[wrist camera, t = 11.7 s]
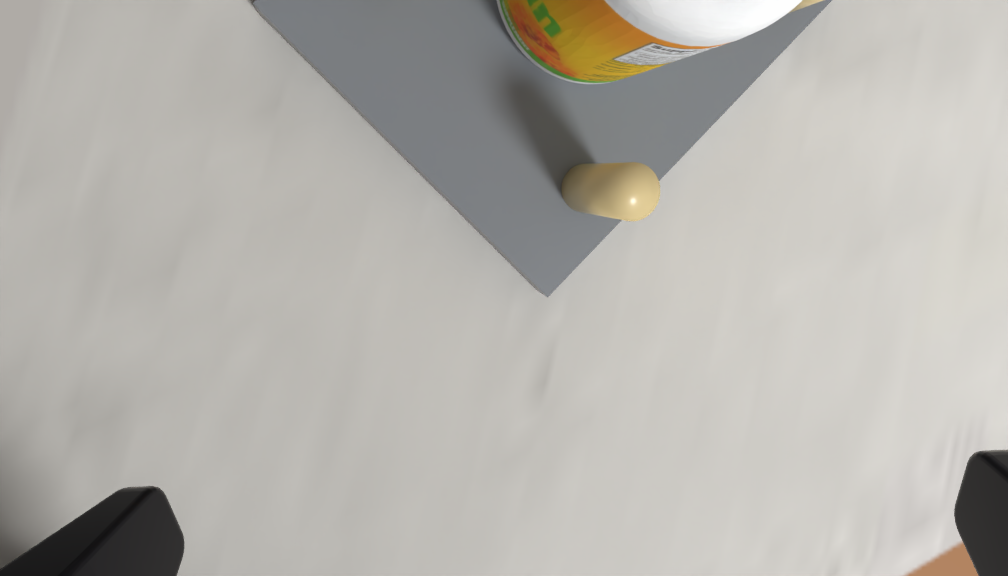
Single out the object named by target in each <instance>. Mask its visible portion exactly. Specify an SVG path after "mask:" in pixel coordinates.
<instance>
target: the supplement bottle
mask: <svg viewBox="0 0 1008 576" xmlns="http://www.w3.org/2000/svg"><path fill="white" fill-rule="evenodd" d="M801 1H802V0H497V4H498V9H499V12H500V15H501V18H502V20H503V22H504V25H505V27H506V29H507V31H508V33H509V35H510V37H511V38H512V40H513V41H514V43H515V44H516V45H517V47H518V48H519V49H520V51H521V52H522V53H523V54H524V55H525V56H526V57H527V58H528V59H529V60H530V61H531V62H532V63H534V64H535V65H536V66H537V67H539V68H540V69H542V70H543V71H545V72H547V73H548V74H550V75H552V76H555V77H557V78H559V79H562V80H565V81H569V82H573V83H580V84H603V83H609V82H614V81H618V80H621V79H625V78H628V77H631V76H633V75H636V74H639V73H642V72H645V71H648V70H651V69H654V68H657V67H660V66H663V65H665V64H668V63H671V62H675V61H678V60H680V59H683V58H686V57H689V56H692V55H695V54H697V53H701V52H704V51H706V50H709V49H712V48H715V47H719V46H722V45H724V44H727V43H730V42H733V41H737V40H739V39H742V38H744V37H746V36H748V35H751V34H753V33H755V32H757V31H759V30H762V29H764V28H766V27H767V26H769V25H771V24H772V23H774V22H776V21H777V20H779V19H780V18H782V17H783V16H785V15H786V14H788V13H789V12H790V11H791V10H792V9H794V8H795V7H796V6H797V5H798V4H799V3H800V2H801Z"/></svg>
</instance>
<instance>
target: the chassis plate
mask: <svg viewBox="0 0 1008 576" xmlns="http://www.w3.org/2000/svg"><path fill="white" fill-rule="evenodd" d="M831 1H832V0H802V1H801V2H800V3H799V4H798V5H797V6H796V7H795V8H794V9H792V10H791V11H790V12H789V13H788V14H786V15H785V16H783V17H782V18H780V19H779V20H777V21H776V22H774V23H772V24H771V25H769V26H767V27H766V28H764V29H762V30H759V31H757V32H755V33H753V34H751V35H748V36H746V37H744V38H742V39H739V40H737V41H733V42H730V43H727V44H724V45H722V46H719V47H715V48H712V49H709V50H706V51H704V52H701V53H697V54H695V55H692V56H689V57H686V58H683V59H680V60H678V61H675V62H671V63H668V64H665V65H663V66H660V67H657V68H654V69H651V70H648V71H645V72H642V73H639V74H636V75H633V76H631V77H628V78H625V79H621V80H618V81H614V82H609V83H603V84H580V83H573V82H569V81H565V80H562V79H559V78H557V77H555V76H552V75H550V74H548V73H547V72H545V71H543V70H542V69H540V68H539V67H537V66H536V65H535V64H534V63H532V62H531V61H530V60H529V59H528V58H527V57H526V56H525V55H524V54H523V53H522V52H521V51H520V49H519V48H518V47H517V45H516V44H515V43H514V41H513V40H512V38H511V37H510V35H509V33H508V31H507V29H506V27H505V25H504V22H503V20H502V18H501V15H500V12H499V9H498V4H497V0H255V2H254V3H253V5H254V6H255V8H256V10H257V11H258V13H259V14H260V15H261V16H262V17H263V18H264V19H265V20H266V21H267V22H268V23H269V24H270V25H271V26H272V27H273V28H274V29H275V30H276V31H277V32H278V33H279V34H280V35H281V36H282V37H283V38H284V39H285V40H286V41H287V42H288V43H289V44H290V45H291V46H292V47H293V48H294V49H295V50H296V51H297V52H298V53H299V54H300V55H301V56H302V57H303V58H304V59H305V60H306V61H307V62H308V63H309V64H310V65H311V66H312V67H313V68H314V69H315V70H316V71H317V72H318V73H319V74H320V75H321V76H322V77H323V78H324V79H325V80H326V81H327V82H328V83H329V84H330V85H331V86H332V87H333V88H334V89H335V90H336V91H337V92H338V93H339V94H340V95H341V96H342V97H343V98H344V99H345V100H346V101H347V102H348V103H349V104H350V105H351V106H352V107H353V108H354V109H355V110H356V111H357V112H358V113H359V114H360V115H361V116H362V117H363V118H364V119H365V120H366V121H367V122H368V123H369V124H370V125H371V126H372V127H373V128H374V129H375V130H376V131H377V132H378V133H379V134H380V135H381V136H382V137H383V138H384V139H385V140H386V141H387V142H388V143H389V144H390V145H391V146H392V147H393V148H394V149H395V150H396V151H397V152H398V153H399V154H400V155H401V156H402V157H403V158H404V159H405V160H406V161H407V162H408V163H409V164H411V165H412V166H413V167H414V168H415V169H416V170H417V171H418V172H419V173H420V174H421V175H422V176H423V177H424V178H425V179H426V180H427V181H428V182H429V183H430V184H431V185H432V186H433V187H434V188H435V189H436V190H437V191H438V192H439V193H440V194H441V195H442V196H443V197H444V198H445V199H446V200H447V201H448V202H449V203H450V204H451V205H452V206H453V207H454V208H455V209H456V210H457V211H458V212H459V213H460V214H461V215H462V216H463V217H464V218H465V219H466V220H467V221H468V222H469V223H470V224H471V225H472V226H473V227H474V228H475V229H476V230H477V231H478V232H479V233H480V234H481V235H482V236H483V237H484V238H485V239H486V240H487V241H488V242H489V243H490V244H491V245H492V246H493V247H494V248H495V249H496V250H497V251H498V252H499V253H500V254H501V255H502V256H503V257H504V258H505V259H506V260H507V261H508V262H509V263H510V264H511V265H512V266H513V267H514V268H515V269H516V270H517V271H518V272H519V273H520V274H521V275H522V276H523V277H524V278H525V279H526V280H527V281H528V282H529V283H530V284H531V285H532V286H533V287H534V288H535V289H536V290H537V291H539V292H540V293H542V294H543V295H545V296H547V297H549V296H550V294H551V293H552V292H553V291H554V290H555V289H556V288H557V287H558V286H559V285H560V284H561V283H562V282H563V281H564V280H565V279H566V278H567V277H568V276H569V275H570V274H571V273H572V271H573V270H574V269H575V268H576V267H577V266H578V265H579V264H580V263H581V262H582V261H583V260H584V259H585V258H586V257H587V256H588V255H589V254H590V253H591V252H592V251H593V250H594V248H595V247H596V246H597V245H598V244H599V243H600V242H601V241H602V240H603V239H604V238H605V237H606V236H607V235H608V234H609V233H610V232H611V231H612V230H613V229H614V228H615V227H616V225H617V224H618V223H619V222H620V221H621V220H625V221H638V220H641V219H643V218H645V217H647V216H648V215H649V214H650V213H651V212H652V211H653V210H654V209H655V207H656V205H657V203H658V201H659V197H660V184H659V181H660V179H661V178H662V177H663V176H664V175H665V174H666V173H667V172H668V171H669V170H670V169H671V168H672V167H673V166H674V165H675V164H676V163H677V162H678V161H679V160H680V159H681V158H682V157H683V155H684V154H685V153H686V152H687V151H688V150H689V149H690V148H691V147H692V146H693V145H694V144H695V143H696V142H697V141H698V140H699V139H700V138H701V137H702V136H703V135H704V134H705V132H706V131H707V130H708V129H709V128H710V127H711V126H712V125H713V124H714V123H715V122H716V121H717V120H718V119H719V118H720V117H721V116H722V115H723V114H724V113H725V112H726V111H727V109H728V108H729V107H730V106H731V105H732V104H733V103H734V102H735V101H736V100H737V99H738V98H739V97H740V96H741V95H742V94H743V93H744V92H745V91H746V90H747V89H748V88H749V86H750V85H751V84H752V83H753V82H754V81H755V80H756V79H757V78H758V77H759V76H760V75H761V74H762V73H763V72H764V71H765V70H766V69H767V68H768V67H769V66H770V65H771V63H772V62H773V61H774V60H775V59H776V58H777V57H778V56H779V55H780V54H781V53H782V52H783V51H784V50H785V49H786V48H787V47H788V46H789V45H790V44H791V43H792V42H793V40H794V39H795V38H796V37H797V36H798V35H799V34H800V33H801V32H802V31H803V30H804V29H805V28H806V27H807V26H808V25H809V24H810V23H811V22H812V21H813V20H814V19H815V18H816V16H817V15H818V14H819V13H820V12H821V11H822V10H823V9H824V8H825V7H826V6H827V5H828V4H829V3H830V2H831Z"/></svg>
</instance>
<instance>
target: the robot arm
mask: <svg viewBox="0 0 1008 576" xmlns="http://www.w3.org/2000/svg"><path fill="white" fill-rule="evenodd" d="M954 516H955V522H956V526H957V529H958V532H959V534H960V536H961V539H962V541H963V543H964V545H965V547H966V549H967V552H968V554H969V556H970V558H971V560H972V562H973V564H974V567H975V569H976V571H977V573H978V575H979V576H1008V450H991V451H979V452H976V453H974V454H973V455H972V456H971V457H970V458H969V460H968V463H967V466H966V470H965V473H964V477H963V480H962V483H961V487H960V490H959V494H958V497H957V500H956V504H955V512H954ZM183 553H184V537H183V533H182V531H181V529H180V526H179V524H178V522H177V520H176V517H175V515H174V513H173V511H172V508H171V506H170V504H169V502H168V499H167V497H166V495H165V493H164V492H163V491H162V490H161V489H160V488H158V487H154V486H146V487H128V488H123V489H120V490H118V491H117V492H115V493H114V494H112V495H111V496H109V497H108V498H106V499H105V500H103V501H102V502H100V503H99V504H97V505H96V506H94V507H93V508H91V509H90V510H88V511H87V512H85V513H84V514H82V515H81V516H79V517H78V518H76V519H75V520H73V521H72V522H70V523H69V524H67V525H66V526H64V527H63V528H61V529H60V530H58V531H57V532H55V533H54V534H52V535H51V536H49V537H48V538H46V539H45V540H43V541H42V542H40V543H39V544H37V545H36V546H34V547H33V548H31V549H30V550H28V551H27V552H25V553H24V554H22V555H21V556H19V557H18V558H16V559H15V560H14V561H12V562H11V563H9V564H8V565H6V566H5V567H3V568H2V569H0V576H177V573H178V570H179V567H180V564H181V561H182V557H183Z"/></svg>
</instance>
